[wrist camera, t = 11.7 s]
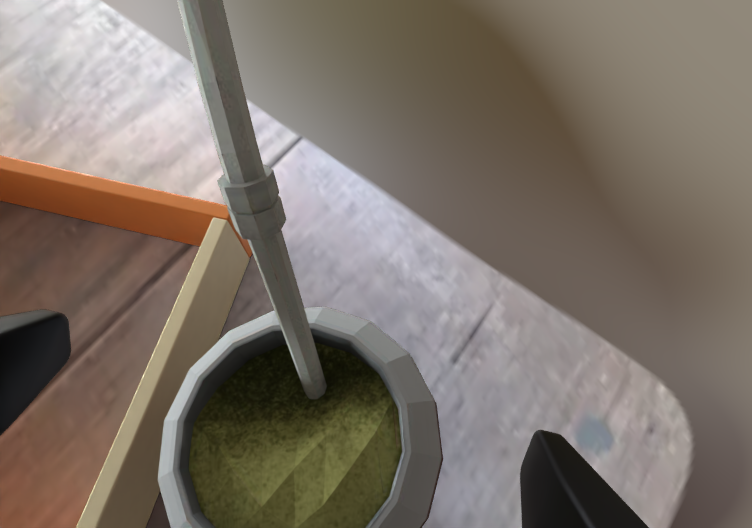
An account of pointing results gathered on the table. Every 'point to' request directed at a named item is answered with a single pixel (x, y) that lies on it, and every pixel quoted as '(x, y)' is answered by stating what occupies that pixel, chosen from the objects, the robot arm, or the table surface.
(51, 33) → the table surface
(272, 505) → the mate gourd
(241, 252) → the rectangular frame
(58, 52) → the table surface
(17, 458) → the table surface
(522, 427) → the table surface
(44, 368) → the robot arm
